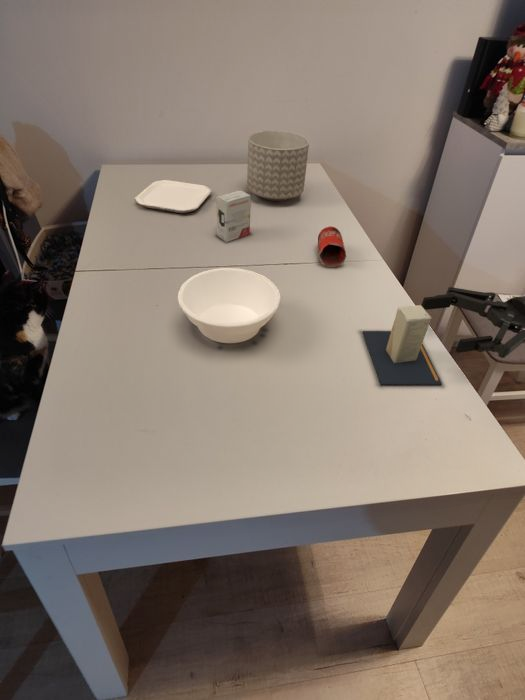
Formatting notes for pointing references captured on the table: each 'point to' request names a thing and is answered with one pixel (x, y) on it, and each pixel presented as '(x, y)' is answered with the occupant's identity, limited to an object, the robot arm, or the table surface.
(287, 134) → the planter
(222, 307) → the bowl
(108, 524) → the table surface
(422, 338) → the box
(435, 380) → the desk mat
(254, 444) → the table surface
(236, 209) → the ink box
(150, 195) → the plate
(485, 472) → the table surface
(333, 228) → the beverage can
